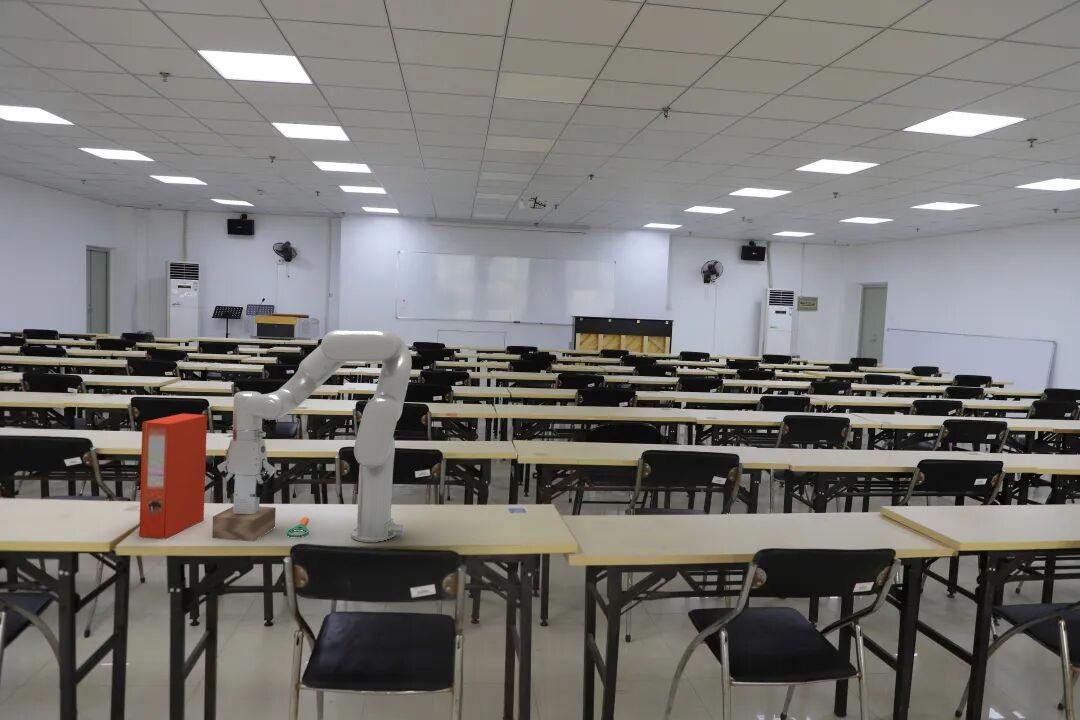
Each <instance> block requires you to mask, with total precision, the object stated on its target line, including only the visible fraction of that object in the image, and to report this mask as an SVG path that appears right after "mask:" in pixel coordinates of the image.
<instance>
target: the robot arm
mask: <svg viewBox="0 0 1080 720" xmlns="http://www.w3.org/2000/svg"><path fill="white" fill-rule="evenodd" d="M411 355H412V354H411V352H410V349H409V346H408V345H407V343H406V342H405V340H403V339H402V338H401V337H400V336H399V335H397V334H396V333H395V332H393V331H391V330H390V331H389V330H387V329H385V330H371V331H370V330H346V329H334V330H331V331H329V332H327V333H326V334H325V335H324V336H323V338H322V340H321V343H320V345H318V346H317V347H316V348H315V349H314V350H312V352H311V353H309V354H308V355H307V356H306V357H305V358H304V359H302V360H301V362H300V363H299V366H298V370H297V371H296V372H295V374H294V375H293V376H292V377H291V378H290V379H289V380H288V381H287V382H286V383H284V384H283V385H282V386H281V387H280V388H278V390H276V391H273V392H269V393H263V394H262V393H261V392H260V391H259V392H258V391H251V390H250V391H249V390H247V391H245V390H243V391H238V392H236V393H234V396H233V409H232V411H233V412H232V416H233V417H232V439H230V440H229V441H230V442H229V444H228V449H227V456H226V460H225V461H223V462H221V463H219V464H217V470H218V471H219V472H220V475H221V476H222V478H223V479H224V481H225V482H226V485H225V487H226V488H225V489H226V495H227V496H230V495H231V496H232V495H234V487H235V472H240V473H242V474H245V475H252V476H255V477H256V479H257V480H258V482H259V483H258V484H257V493H256V497H258V498H259V497H260V498H262V497H264V495H265V494H266V484H267V482H268V480H270V478H271V477H272V476H273V474H275V472H276V468H275V467H274V466H273V465H271V464H270V463H269V462H268V455H267V453H268V452H267V445H266V440H265V439H264V438H263V437H266V434H267V432H266V431H263V419H264V420H268V421H273V420H278V419H281V418H283V417H285V416H287V415H289V414H291V413H292V412H293V411H295V410H296V409H297V408H298V407H299V406H300V405H301V404H302V403H304V402H305V401H306V400H307V399H308V398H309V397H310V396H312V394H313V393H315V391H316V390H317V389H318V388H320V387H321V386H322V385H323V384H324V383H325V382H326V381H327V380H328V379H329V378H331V377H332V376H333V374H335V373H336V372H337V371H338V370H340V369H341V367H343V366H344V365H346V363H347V362H352V363H353V362H360V363H361V362H364V363H365V362H370V363H371V362H372V363H375V362H376V363H377V362H378V363H380V362H381V364H382V365H381V369H380V372H379V376H378V379H377V386H376V388H375V391H374V395H373V396H372V398H371V399H370V400H369V401H368V402H367V403H366V405H365V407H364V409H363V411H362V416H361V419H360V423H359V426H358V431H357V435H356V438H355V442H354V444H353V445H354V447H353V454H354V458H355V459H356V460H355V461H356V462H357V463H358V464H359V471H358V491H357V492H358V494H357V514H356V515H357V516H356V517H357V519H356V528H353V529H352V530H351V533H350V537H351V538H352V539H353V540H355V541H358V542H364V543H379V542H378V541H381V542H385V541H384V540H386V541H388V540H387V539H389V540H391V539H393V538H394V537H396V535H397V534H398V533H400V534H404V533H405V525H404V524H401V523H395V519H394V518H392V497H393V495H392V494H393V493H392V491H393V477H394V475H393V474H394V462H395V453H396V451H395V449H396V443H395V438H394V435H395V430H396V427H397V424H398V423H397V422H398V421H399V420H400V418H401V416H402V413H403V407H404V403H405V398H406V394H407V390H408V385H409V381H410V377H411V371H412V367H413V365H412V361H413V360H412V356H411ZM266 472H267V473H266ZM265 473H266V474H265ZM396 533H397V534H396ZM392 537H393V538H392ZM390 538H391V539H390Z"/></svg>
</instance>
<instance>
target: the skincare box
mask: <svg viewBox="0 0 1080 720" xmlns="http://www.w3.org/2000/svg"><path fill="white" fill-rule="evenodd" d="M234 479H235V487H234V493H233V505H232V507H233V514H255V513H256V512H257V511H258V510H259V506H260V499H261V497H259V498H258V497H256V493H257V484H258V483H259V482H258V480H257V479H256V477H255V476H252V475H245V474H242V473H240V472H235V477H234Z"/></svg>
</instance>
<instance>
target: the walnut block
mask: <svg viewBox="0 0 1080 720" xmlns="http://www.w3.org/2000/svg"><path fill="white" fill-rule="evenodd" d="M276 511H277V510H276V507H272V506H271V507H270V506H260V505H259V510H258V511H257V512H256V513H255V514H233V506H231V507H229V508H228V509H225V510H223V511H221V512H219V513H217V514H215V515H213V516H212V534H211V536H212V539H225V540H235V539H242V540H241V541H247V540H254V541H256V540H258V539H259V538H261V537H262V536H263V535H265V533H266V534H267V533H269V532H270V531H272V530H274V529H275V528H276ZM274 527H275V528H274ZM273 528H274V529H273ZM271 529H272V530H271ZM268 531H269V532H268ZM260 536H261V537H260ZM258 537H259V538H258ZM257 538H258V539H257ZM255 539H256V540H255Z"/></svg>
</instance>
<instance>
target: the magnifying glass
mask: <svg viewBox="0 0 1080 720" xmlns="http://www.w3.org/2000/svg"><path fill="white" fill-rule="evenodd" d="M309 519H310V518H309V517H308V516H307V517H306V516H303V517H302V519H301V520H300V522H299V523H298V525H296V526H293V527H291V528H289V529H287V530H286V533H285V536H286V535H287V536H289V537H288V538H290V537H300V538H303V537H302V536H304V537H306V536H308V535H309V534H310V533H309V529H308V527H307V524H308V522H309ZM305 525H306V526H305ZM294 530H303V531H305V532H306V533H305V532H304V533H300V534H291V533H292V532H291V531H294ZM289 532H291V533H289ZM287 536H286V537H287Z"/></svg>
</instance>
